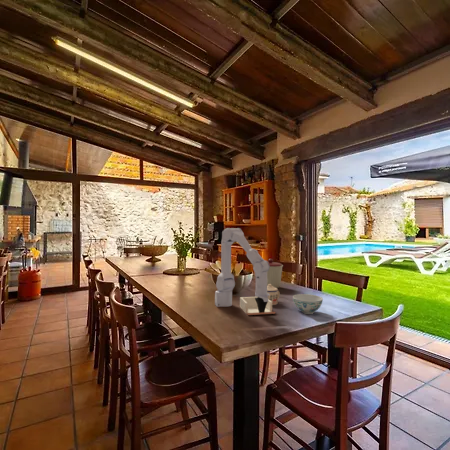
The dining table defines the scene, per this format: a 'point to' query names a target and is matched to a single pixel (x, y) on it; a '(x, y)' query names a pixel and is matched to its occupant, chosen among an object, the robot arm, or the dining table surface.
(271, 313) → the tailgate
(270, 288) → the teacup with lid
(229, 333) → the dining table surface
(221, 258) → the robot arm
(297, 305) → the chinaware
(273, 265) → the canister
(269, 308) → the box
